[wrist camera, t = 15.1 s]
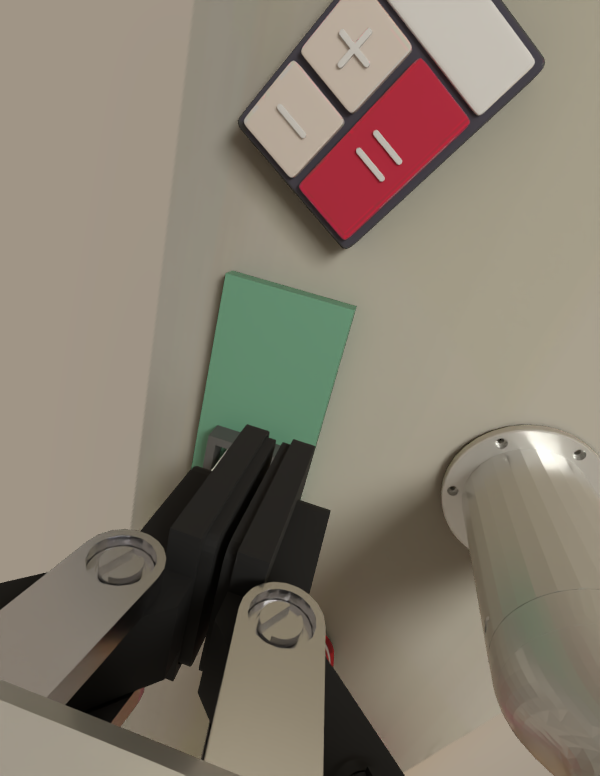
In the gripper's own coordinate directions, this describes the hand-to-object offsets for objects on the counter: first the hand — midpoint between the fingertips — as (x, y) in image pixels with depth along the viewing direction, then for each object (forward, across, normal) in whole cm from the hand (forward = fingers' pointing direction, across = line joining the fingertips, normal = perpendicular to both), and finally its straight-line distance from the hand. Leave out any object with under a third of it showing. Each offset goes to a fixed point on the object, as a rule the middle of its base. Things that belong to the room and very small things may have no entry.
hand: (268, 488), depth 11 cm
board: (+27, +5, +12) cm, 30 cm away
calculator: (+28, +2, -12) cm, 30 cm away
